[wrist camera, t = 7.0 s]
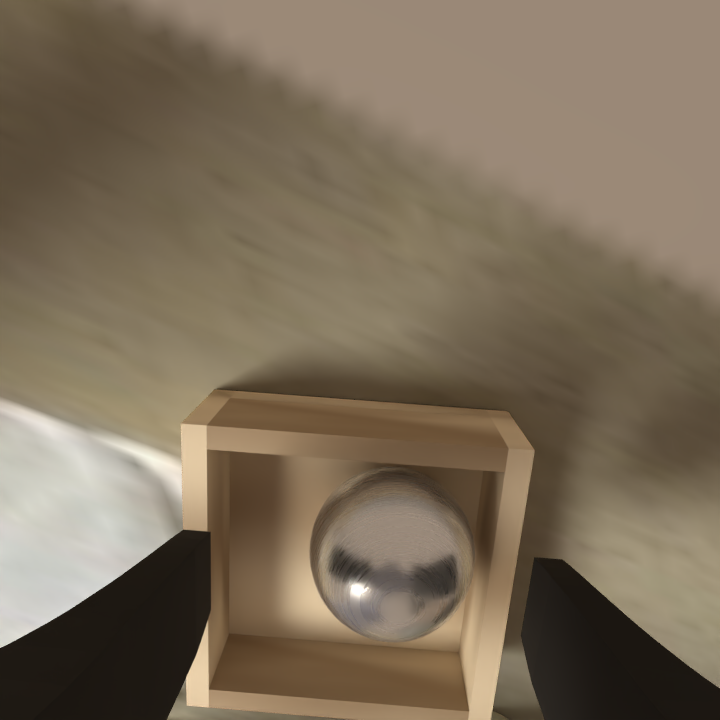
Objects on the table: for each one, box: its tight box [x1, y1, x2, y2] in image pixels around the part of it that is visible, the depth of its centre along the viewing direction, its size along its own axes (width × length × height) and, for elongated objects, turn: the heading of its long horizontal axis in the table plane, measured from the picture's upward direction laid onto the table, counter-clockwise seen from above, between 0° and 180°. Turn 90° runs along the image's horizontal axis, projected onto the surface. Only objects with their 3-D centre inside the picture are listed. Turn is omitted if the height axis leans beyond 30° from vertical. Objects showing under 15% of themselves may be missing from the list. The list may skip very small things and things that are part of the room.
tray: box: [181, 389, 535, 720], centre depth 14 cm, size 8×8×3 cm
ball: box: [309, 467, 475, 643], centre depth 13 cm, size 4×4×4 cm
